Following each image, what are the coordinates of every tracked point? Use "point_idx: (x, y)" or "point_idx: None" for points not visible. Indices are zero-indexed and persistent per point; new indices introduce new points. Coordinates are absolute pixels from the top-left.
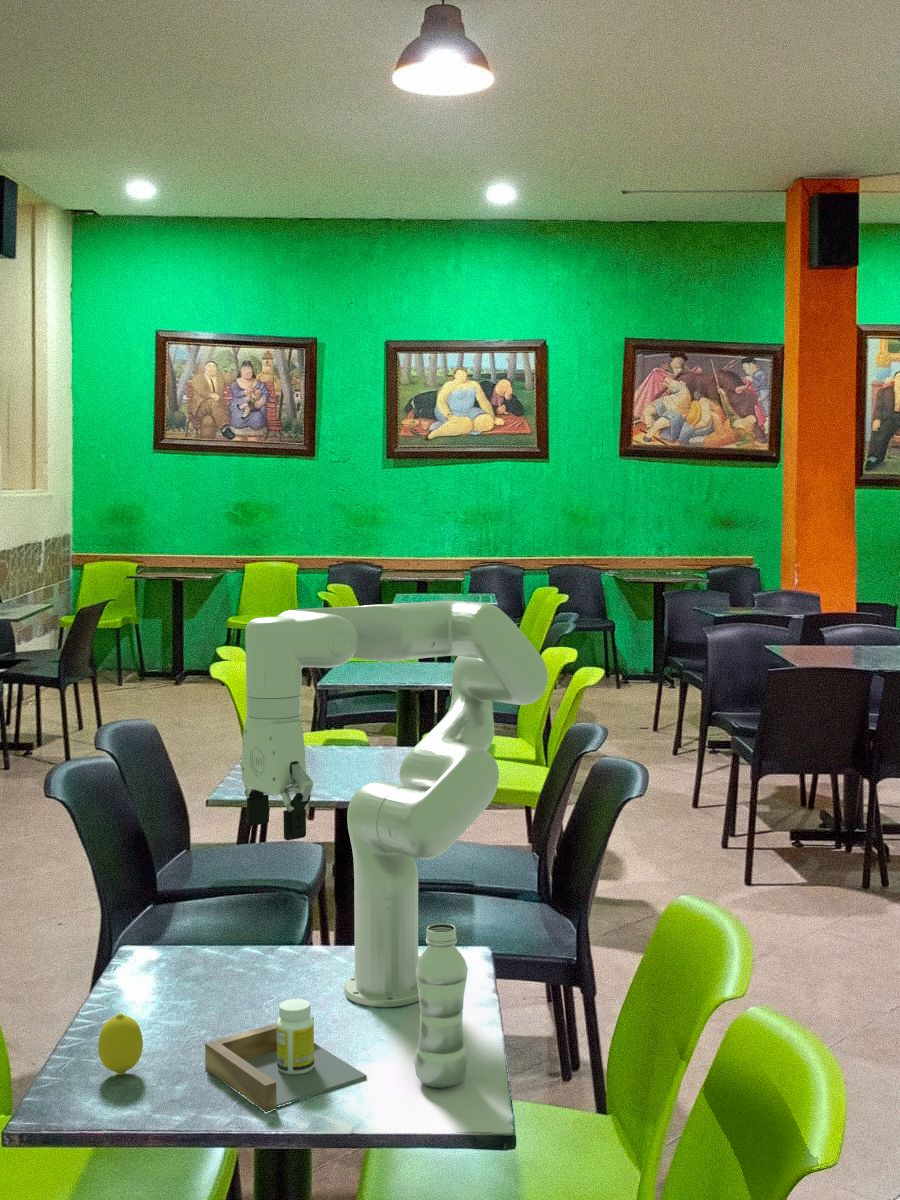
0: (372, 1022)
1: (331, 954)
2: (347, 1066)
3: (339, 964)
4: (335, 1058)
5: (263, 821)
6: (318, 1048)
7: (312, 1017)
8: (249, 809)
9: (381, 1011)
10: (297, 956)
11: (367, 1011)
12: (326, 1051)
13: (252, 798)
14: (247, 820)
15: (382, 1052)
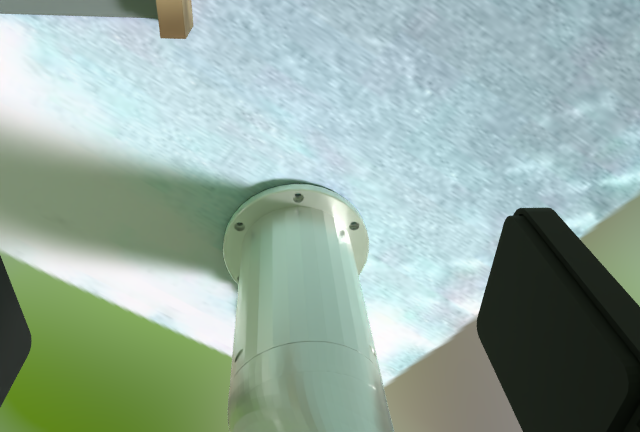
0: (196, 162)
1: None
2: (7, 5)
3: (451, 250)
4: (57, 8)
5: (489, 306)
6: (122, 8)
7: (163, 36)
8: (586, 294)
9: (231, 198)
10: None
11: (245, 181)
12: (100, 13)
13: (636, 407)
14: (558, 222)
15: (61, 104)
